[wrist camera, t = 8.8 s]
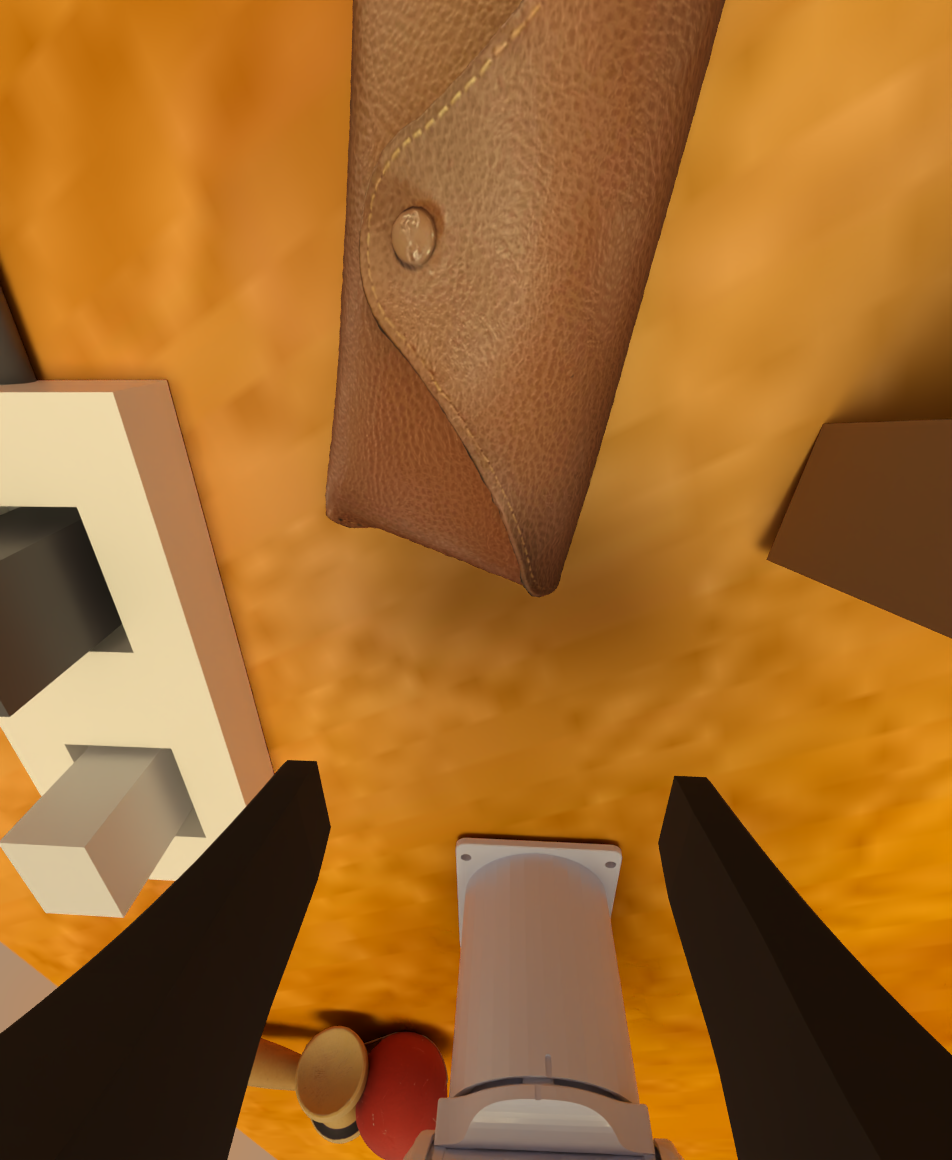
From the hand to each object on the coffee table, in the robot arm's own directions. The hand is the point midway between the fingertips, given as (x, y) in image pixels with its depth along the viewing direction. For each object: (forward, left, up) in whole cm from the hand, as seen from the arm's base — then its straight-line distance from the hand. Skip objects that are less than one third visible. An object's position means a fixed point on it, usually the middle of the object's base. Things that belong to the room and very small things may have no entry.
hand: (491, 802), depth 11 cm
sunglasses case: (+10, +1, -10) cm, 14 cm away
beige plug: (-9, +15, -9) cm, 19 cm away
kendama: (-36, +12, -10) cm, 40 cm away
